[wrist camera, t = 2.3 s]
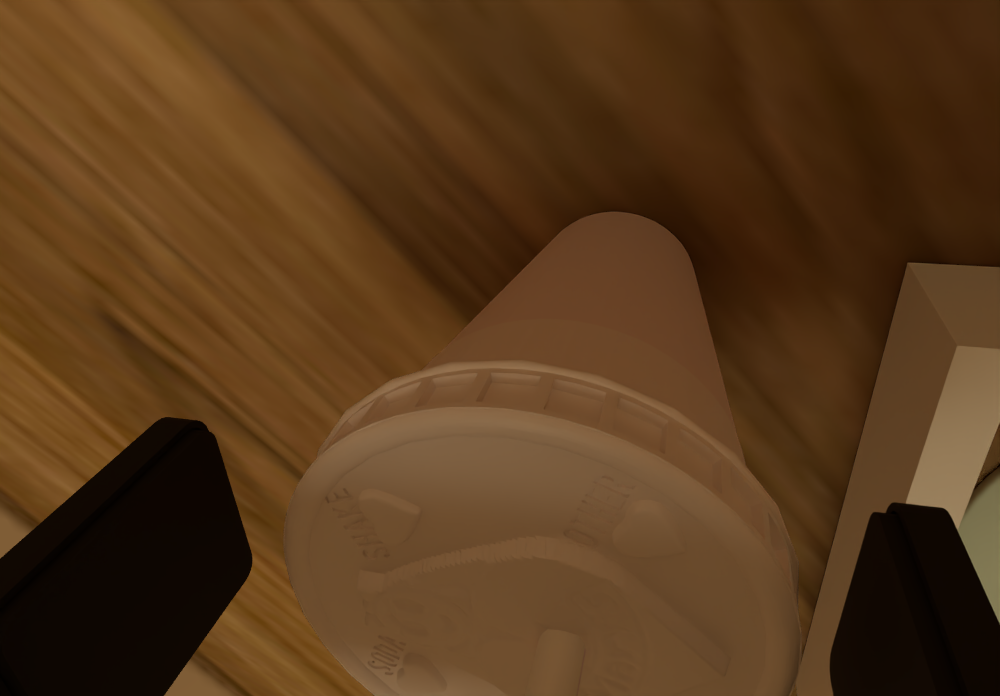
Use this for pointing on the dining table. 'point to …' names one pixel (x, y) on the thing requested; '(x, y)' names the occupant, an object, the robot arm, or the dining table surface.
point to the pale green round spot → (985, 536)
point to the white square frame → (917, 426)
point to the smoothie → (554, 500)
